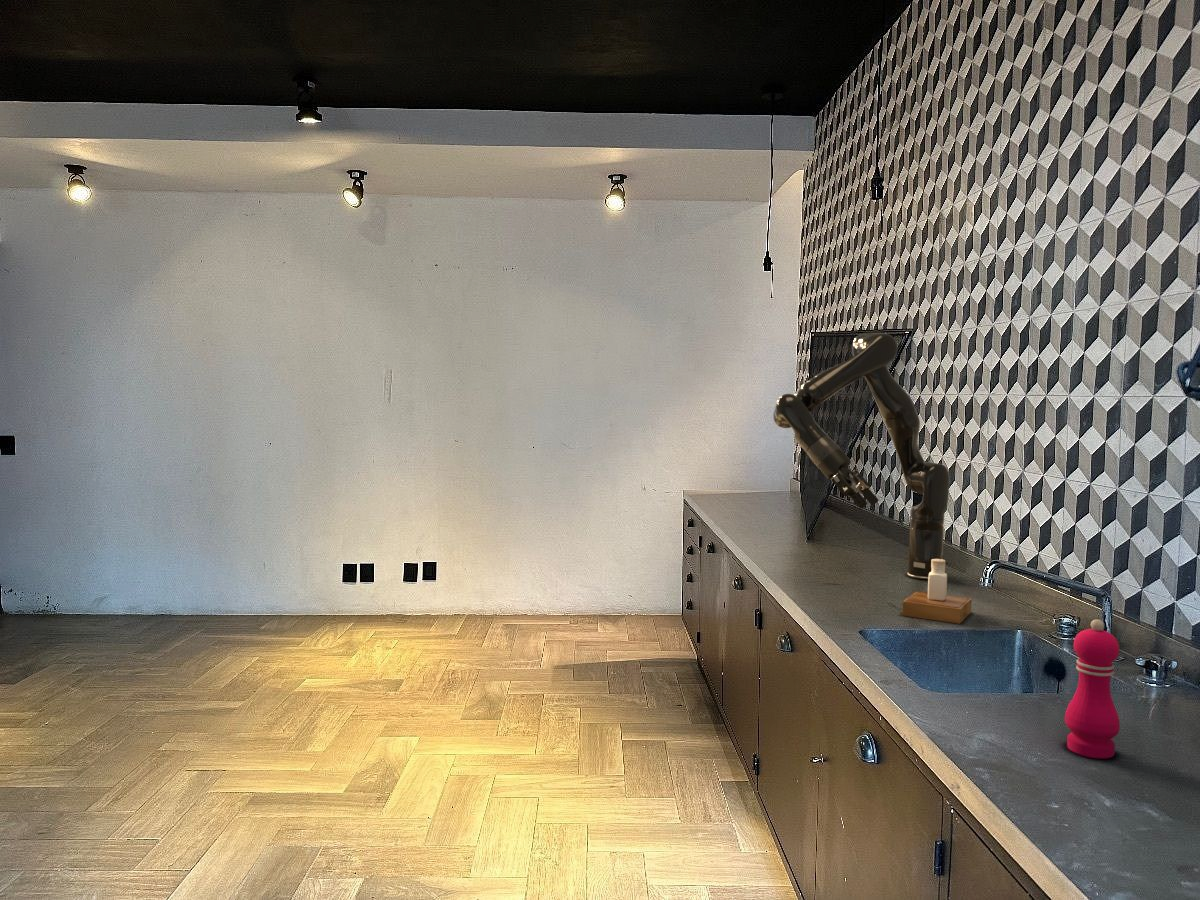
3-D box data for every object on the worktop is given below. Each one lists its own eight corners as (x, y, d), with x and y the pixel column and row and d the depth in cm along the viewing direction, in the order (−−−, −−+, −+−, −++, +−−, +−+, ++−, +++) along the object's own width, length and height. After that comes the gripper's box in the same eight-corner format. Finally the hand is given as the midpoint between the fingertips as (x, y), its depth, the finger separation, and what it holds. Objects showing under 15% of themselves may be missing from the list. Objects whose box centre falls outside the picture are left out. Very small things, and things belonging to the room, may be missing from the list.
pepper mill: (1053, 741, 139) (1060, 613, 138) (1098, 740, 140) (1105, 613, 139) (1082, 761, 132) (1089, 626, 131) (1129, 760, 133) (1137, 625, 131)
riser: (916, 605, 228) (916, 590, 227) (970, 612, 221) (971, 597, 220) (902, 615, 217) (903, 600, 216) (959, 623, 210) (960, 608, 209)
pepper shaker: (946, 598, 219) (948, 559, 219) (945, 601, 216) (946, 562, 215) (928, 596, 221) (930, 557, 220) (927, 599, 218) (928, 560, 217)
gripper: (828, 448, 228) (872, 497, 223) (848, 446, 240) (889, 492, 234) (807, 468, 232) (850, 517, 226) (828, 465, 244) (868, 511, 238)
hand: (870, 504), depth 230 cm, fingers open, 8 cm apart
